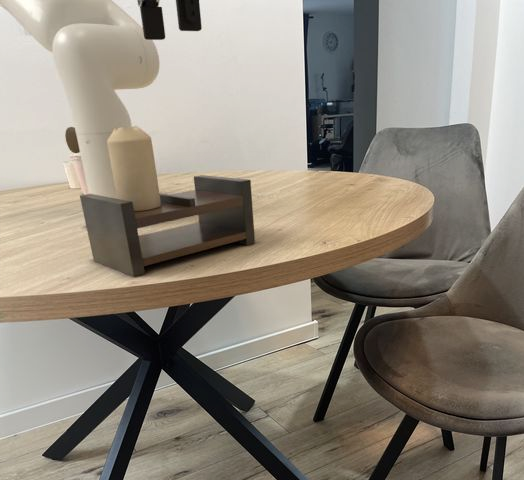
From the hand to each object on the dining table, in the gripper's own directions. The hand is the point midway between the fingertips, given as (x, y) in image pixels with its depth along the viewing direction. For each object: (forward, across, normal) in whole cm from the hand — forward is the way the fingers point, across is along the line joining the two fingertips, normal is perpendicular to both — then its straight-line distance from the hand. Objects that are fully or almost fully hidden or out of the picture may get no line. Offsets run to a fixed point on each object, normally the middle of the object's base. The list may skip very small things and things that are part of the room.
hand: (172, 35), depth 70 cm
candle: (+21, +7, -12) cm, 25 cm away
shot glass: (+29, -80, +11) cm, 86 cm away
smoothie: (+29, -64, +8) cm, 70 cm away
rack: (+28, +7, -8) cm, 29 cm away
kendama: (+28, -51, +5) cm, 58 cm away
